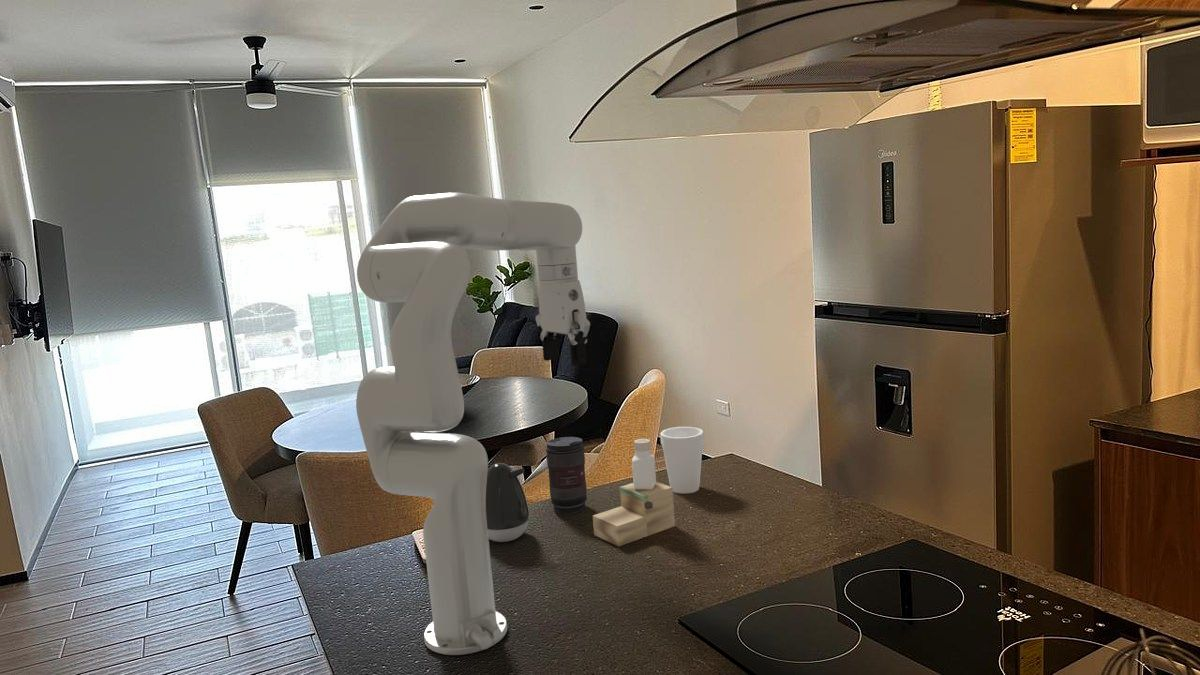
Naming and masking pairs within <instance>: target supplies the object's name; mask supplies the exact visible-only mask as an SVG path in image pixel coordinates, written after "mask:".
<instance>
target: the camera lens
mask: <svg viewBox="0 0 1200 675" xmlns="http://www.w3.org/2000/svg"><path fill="white" fill-rule="evenodd" d="M583 442H584V441H583V438H580V437H576V436H562V437H557V438H552V439H549V440H548V441H547V442H546V446H545V451H546V464H547V468H548V479H549V480H548V481H549V485H548V486H549V495H550V501H551V504H552V505H553V510H554V512H555V513H557V514H563V515H568V514H569V515H570V514H576V513H579V512H581V511H584V509H585V508H586V501H587V498H588V497H587V493H588V491H587V481H586V471H585V468H586V467H585V466H586V465H585V464H586V462H585V461H586V457H585V456H586V455H585V446H584V443H583Z"/></svg>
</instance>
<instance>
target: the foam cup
mask: <svg viewBox="0 0 1200 675" xmlns="http://www.w3.org/2000/svg"><path fill="white" fill-rule="evenodd" d="M659 435H660V445H661V446H662V451H663V456H664V461H665V465H666V466H665V467H666V471H667V472H666V473H667V477H668V482H669V486H670V487H673V493H675V494H680V495H681V494H693V493H695V492H698V491H699V490H700V484H701V471H702V459H703V458H702V456H703V447H704V445H703V444H704V442H705V441H704V440H705V438H704V437H705V436H704V431H703V429H702V428H699V427H694V426H676V427H674V426H673V427H669V428H666V429H663V430H662V431H661V432H660V433H659Z"/></svg>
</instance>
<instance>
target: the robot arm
mask: <svg viewBox="0 0 1200 675" xmlns="http://www.w3.org/2000/svg"><path fill="white" fill-rule="evenodd" d="M582 234H583V221H582V219H581V216H580V214H579V213H578V211H577V210H576V208H574V207H573V206H571V205H569V204H564V203H558V202H549V201H548V202H545V201H533V200H519V199H509V198H496V197H491V196H483V195H477V194H471V193H467V192H466V193H465V192H443V193H433V194H432V193H431V194H422V195H421V194H420V195H412V196H409V197H406V198H404V199H403V200H401V201H400V202H399V203H397V205H396V206H395V207H394V208H393V209H392V210H391V211H390V212H389V214H388V215H387V216H386V218H385V219H384V220H383V222H382V223H381V225H380V226H379V227H378V229H377V230H376V232H375V233H374V234H373V236H372V237H371V239H370V240H369V242H368V243H367V245H366V246H365V247H364V249H363V250H362V253H361V254H360V257H359V260H358V261H357V262H358V263H357V269H356V278H357V282H358V286H359V288H360V291H361V292H362V293H363V294H364V295H365V297H367V298H369V299H371V300H372V301H375V302H380V303H404V304H403V306H402V307H401V309H400V312H398V314H397V316H396V318H395V320H394V323H393V325H392V327H391V331H390V337H389V346H390V351H391V358H392V363H393V365H388V366H387V365H386V366H380V367H379V366H378V367H376V368H373V369H372V370H370V371H368V372H367V373H366V374H365V375H364V376H363V378H362V380H361V381H360V383H359V385H358V388H357V393H356V400H355V401H356V402H355V408H356V416H357V419H358V420H357V421H358V423H359V428H360V432H361V436H362V439H363V442H364V446H365V449H366V454H367V458H368V461H369V465H370V468H371V471H372V474H373V477H374V479H375V481H376V483H377V485H378V486H379V487H380V488H381V489H382V490H383V491H385V492H387V493H388V494H389V493H390V494H393V495H399V496H400V495H401V496H411V497H421V498H428V499H431V500H433V505H432V507H431V508H430V510H429V512H428V514H427V515H426V517H425V519H424V522H423V528H422V530H423V531H422V534H423V544H424V553H425V561H426V571H427V580H428V587H429V588H428V589H429V597H430V598H429V599H430V600H429V601H430V606H431V615H432V616H431V617H432V622H430V623H429V624H428V625H427V627H425V628H426V629H425V630H424V632H423V638H424V640H423V641H424V644H425V646H426V647H427V648H428V649H429V650H430V651H432V652H434V653H438V654H440V655H441V654H442V655H445V656H446V655H447V656H463V655H464V656H465V655H470V654H473V653H478V652H481V651H484V650H487V649H489V648H491V647H492V646H495V645H496V644H497V643H499V642H500V641H501V640H502V639H503V638H504V637H505V635H506V634H507V631H508V623H507V619H506V617H505V616H504V615H503V614H502V613H501V612H499V611H497V610H496V602H495V592H494V583H493V582H494V581H493V571H492V562H491V552H490V551H491V550H490V541H489V540H490V539H489V538H488V530H487V519H486V483H487V473H488V469H489V458H488V454H487V451H486V448H485V447H484V446H483V444H482V443H481V442H480V441H478V439H475V438H473V437H471V436H468V435H465V434H461V433H460V434H459V433H450V432H448V433H447V432H446V433H445V431H449V430H451V429H454V428H455V427H457V426H458V425H459V424H460V422H461V421H462V419H463V418H464V414H465V403H464V402H465V401H464V393H463V389H462V384H461V380H460V376H459V371H458V370H459V369H458V366H457V361H456V356H455V353H454V348H453V342H452V341H453V339H452V324H453V320H454V317H455V313H456V311H457V308H458V306H459V304H460V300H461V299H462V296H464V295H463V294H464V292H465V291H466V289H467V286H468V284H469V282H470V276H471V268H472V267H471V265H472V264H471V259H470V256H469V253H468V251H467V250H477V251H478V250H480V251H481V250H482V251H495V252H496V251H497V252H498V251H515V250H517V251H521V252H523V251H535V253H536V254H535V256H536V264H537V275H538V278H537V279H538V283H539V285H538V286H539V287H538V312H539V313H537V315H536V316H535V319H534V320H535V322H536V324H537V331H538V332H539V334H540V336H539V338H540V340H541V343H542V356H543V360H544V361H546V362H547V361H552V360H556V359H559V356H560V355H559V343H558V338H556V336H557V334H558V335H559V334H560V335H567V337H568V339H569V340H570V341H569V342H570V344H569V352H570V362H571V366H572V367H577V366H581V365H586V364H587V361H588V360H587V346H586V344H587V343H588V337H589V335H590V334H589V331H590V327H591V322H590V321H589V319H588V318H587V312H586V304H585V299H584V297H585V296H584V292H583V289H582V285H581V282H580V280H579V277H578V276H579V274H578V261H577V248H576V245H577V244H578V243H579V242H580V239H581V238H582ZM575 334H576V335H575Z"/></svg>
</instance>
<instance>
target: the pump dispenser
mask: <svg viewBox="0 0 1200 675" xmlns="http://www.w3.org/2000/svg"><path fill="white" fill-rule="evenodd" d="M524 473H525V468H523V467H520V468H517V469H513V468H512V467H511V466H510V465H509V464H506V463H504V462H498V463H493V464H492V465H490V467H488V473H487V483H486V519H487V530H488V539H489V540H491V541H493V542H498V543H509V542H512V541H515V540H516V539H518V538H519V537H521V536H522V535H523V534H524V533H525V532H526V529H527V527H528V523H529V521H530V518H531V517H530V510H529V504H528V501H527V500H528V499H527V498H526V497H527V496H526V494H525V491H524V488H523V485H522V483H521V482H520V479H519V476H521V475H522V474H524Z"/></svg>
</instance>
